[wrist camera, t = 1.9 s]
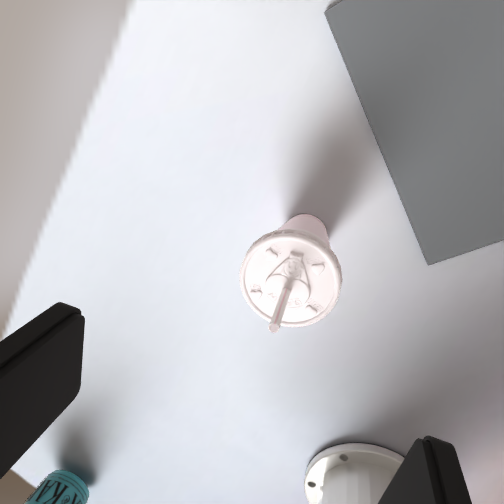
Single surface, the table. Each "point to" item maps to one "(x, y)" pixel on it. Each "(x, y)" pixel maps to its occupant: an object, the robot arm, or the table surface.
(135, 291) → the table surface
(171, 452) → the table surface
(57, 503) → the beverage bottle
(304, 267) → the smoothie
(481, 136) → the mat
